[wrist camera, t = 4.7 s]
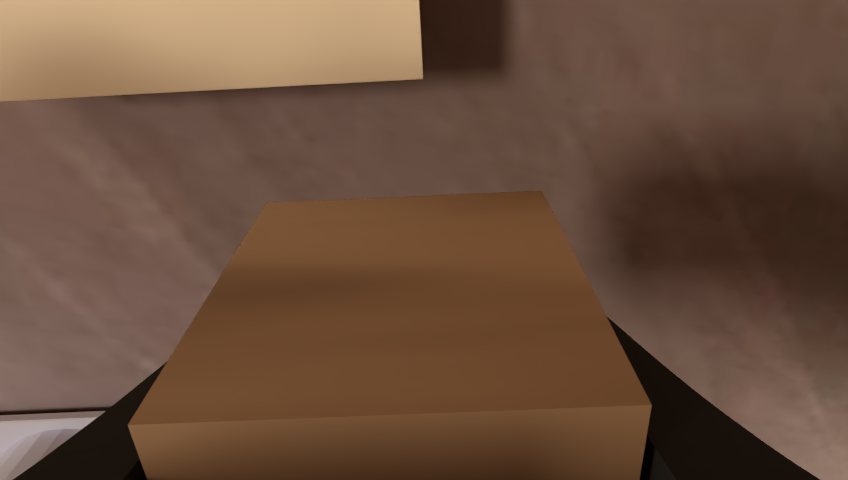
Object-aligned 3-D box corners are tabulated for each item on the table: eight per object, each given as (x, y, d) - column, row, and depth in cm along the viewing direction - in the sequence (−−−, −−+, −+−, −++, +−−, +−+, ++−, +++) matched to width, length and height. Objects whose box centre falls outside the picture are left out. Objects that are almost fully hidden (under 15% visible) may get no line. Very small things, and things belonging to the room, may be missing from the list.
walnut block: (531, 404, 11) (603, 695, 7) (303, 412, 11) (228, 708, 7) (542, 190, 9) (651, 404, 5) (266, 202, 9) (128, 425, 5)
